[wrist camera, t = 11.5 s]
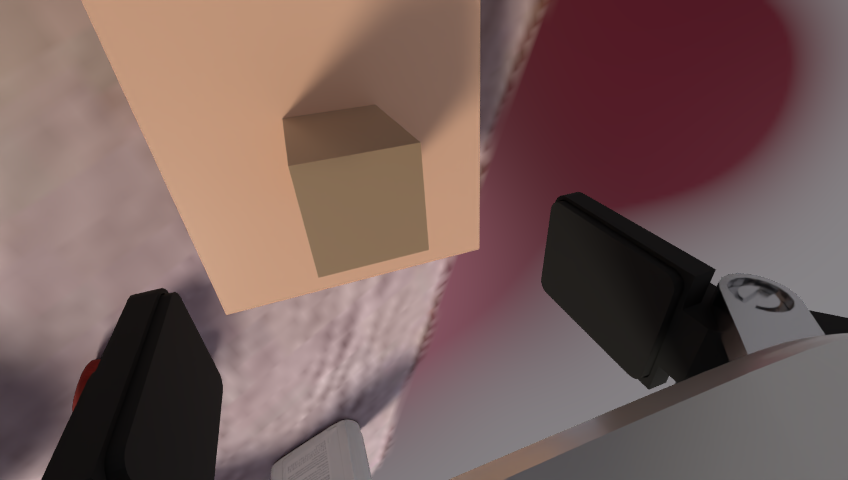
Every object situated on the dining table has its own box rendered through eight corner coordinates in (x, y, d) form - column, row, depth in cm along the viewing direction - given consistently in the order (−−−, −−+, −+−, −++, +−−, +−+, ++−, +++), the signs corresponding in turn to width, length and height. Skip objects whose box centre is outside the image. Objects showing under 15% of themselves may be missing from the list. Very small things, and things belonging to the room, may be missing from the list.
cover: (78, -21, 14) (-73, -48, 8) (474, -43, 18) (583, -74, 12) (227, 308, 22) (211, 420, 16) (475, 244, 26) (538, 315, 20)
